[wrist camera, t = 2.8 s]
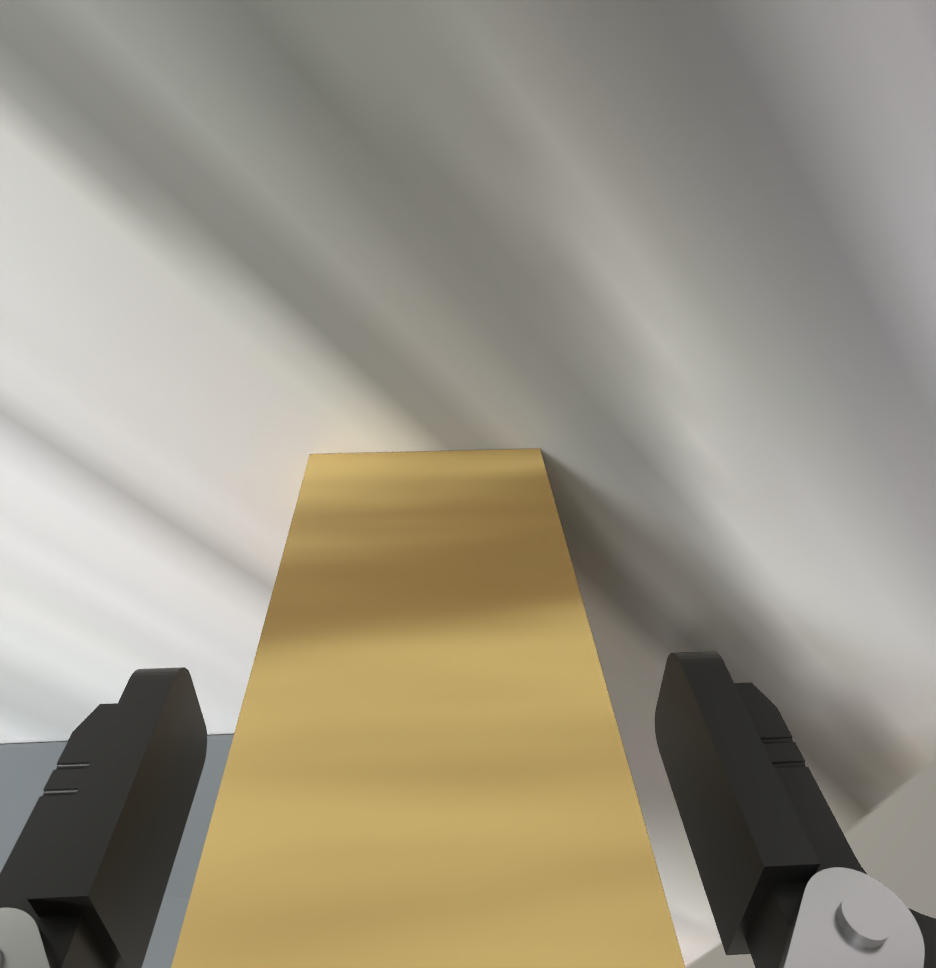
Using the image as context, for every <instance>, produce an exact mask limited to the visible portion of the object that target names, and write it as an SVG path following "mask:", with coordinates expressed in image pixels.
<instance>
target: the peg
mask: <svg viewBox="0 0 936 968" xmlns="http://www.w3.org/2000/svg"><path fill="white" fill-rule="evenodd" d="M171 968H685V965H684V961H683V958H682V954H681V951H680V947H679V944H678V940H677V936H676V933H675V929H674V926H673V922H672V919H671V915H670V911H669V908H668V904H667V901H666V897H665V894H664V890H663V886H662V883H661V879H660V876H659V872H658V869H657V865H656V861H655V858H654V854H653V851H652V847H651V844H650V840H649V836H648V833H647V829H646V826H645V822H644V819H643V815H642V811H641V808H640V804H639V801H638V797H637V794H636V790H635V786H634V783H633V779H632V776H631V772H630V769H629V765H628V761H627V758H626V754H625V751H624V747H623V744H622V740H621V736H620V733H619V729H618V726H617V722H616V719H615V715H614V711H613V708H612V704H611V701H610V697H609V694H608V690H607V686H606V683H605V679H604V676H603V672H602V669H601V665H600V661H599V658H598V654H597V651H596V647H595V644H594V640H593V636H592V633H591V629H590V626H589V622H588V619H587V615H586V611H585V608H584V604H583V601H582V597H581V594H580V590H579V586H578V583H577V579H576V576H575V572H574V569H573V565H572V561H571V558H570V554H569V551H568V547H567V544H566V540H565V536H564V533H563V529H562V526H561V522H560V519H559V515H558V511H557V508H556V504H555V501H554V497H553V494H552V490H551V486H550V483H549V479H548V476H547V472H546V469H545V465H544V461H543V458H542V454H541V451H540V449H500V450H459V451H418V452H378V453H337V454H310V456H309V459H308V463H307V467H306V470H305V474H304V478H303V481H302V485H301V489H300V493H299V496H298V500H297V504H296V507H295V511H294V515H293V518H292V522H291V526H290V530H289V533H288V537H287V541H286V544H285V548H284V552H283V555H282V559H281V563H280V567H279V570H278V574H277V578H276V581H275V585H274V589H273V592H272V596H271V600H270V604H269V607H268V611H267V615H266V618H265V622H264V626H263V629H262V633H261V637H260V641H259V644H258V648H257V652H256V655H255V659H254V663H253V666H252V670H251V674H250V677H249V681H248V685H247V689H246V692H245V696H244V700H243V703H242V707H241V711H240V714H239V718H238V722H237V726H236V729H235V733H234V737H233V740H232V744H231V748H230V751H229V755H228V759H227V763H226V766H225V770H224V774H223V777H222V781H221V785H220V788H219V792H218V796H217V800H216V803H215V807H214V811H213V814H212V818H211V822H210V825H209V829H208V833H207V837H206V840H205V844H204V848H203V851H202V855H201V859H200V862H199V866H198V870H197V873H196V877H195V881H194V885H193V888H192V892H191V896H190V899H189V903H188V907H187V910H186V914H185V918H184V922H183V925H182V929H181V933H180V936H179V940H178V944H177V947H176V951H175V955H174V959H173V962H172V966H171Z"/></svg>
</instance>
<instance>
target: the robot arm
mask: <svg viewBox="0 0 936 968" xmlns="http://www.w3.org/2000/svg"><path fill="white" fill-rule="evenodd" d="M655 732H656V739H657V744H658V748H659V752H660V755H661V758H662V761H663V764H664V767H665V770H666V773H667V776H668V779H669V782H670V785H671V788H672V791H673V794H674V797H675V800H676V803H677V806H678V810H679V813H680V816H681V819H682V822H683V825H684V828H685V831H686V834H687V837H688V840H689V843H690V846H691V849H692V852H693V855H694V858H695V861H696V864H697V867H698V871H699V874H700V877H701V880H702V883H703V886H704V889H705V892H706V895H707V898H708V901H709V904H710V907H711V910H712V913H713V916H714V919H715V922H716V925H717V928H718V932H719V935H720V938H721V941H722V944H723V946H724V950H725V953H726V955H738V954H751V956H752V959H753V961H754V965H755V967H756V968H936V919H934V918H931V917H928V916H925V915H923V914H920V913H918V912H916V911H914V910H911V909H909V908H907V906H906V905H905V904H904V903H903V902H902V900H901V899H900V898H899V897H898V896H897V895H896V894H895V893H894V892H893V891H891V890H890V889H889V888H888V887H886V886H885V885H884V884H882V883H881V882H880V881H878V880H876V879H874V878H873V877H871V876H869V875H867V873H866V872H865V871H864V870H863V868H862V867H861V865H860V864H859V862H858V860H857V859H856V857H855V855H854V853H853V852H852V850H851V848H850V846H849V844H848V842H847V840H846V838H845V836H844V834H843V832H842V830H841V829H840V827H839V825H838V823H837V821H836V819H835V817H834V815H833V813H832V811H831V810H830V808H829V806H828V804H827V802H826V800H825V798H824V796H823V794H822V792H821V791H820V789H819V787H818V785H817V783H816V781H815V779H814V777H813V775H812V773H811V772H810V770H809V768H808V767H806V766H805V760H804V758H803V756H802V754H801V752H800V751H799V749H798V747H797V745H796V743H795V742H793V741H792V735H791V733H790V732H789V730H788V728H787V726H786V724H785V722H784V720H783V718H782V716H781V714H780V713H779V711H778V709H777V707H776V706H775V705H774V704H773V703H772V702H771V701H770V700H769V699H768V698H767V697H766V696H765V695H764V694H762V693H761V692H760V691H759V690H758V689H757V688H756V687H755V686H754V685H753V684H752V683H734V682H733V680H732V678H731V676H730V674H729V672H728V670H727V668H726V666H725V664H724V661H723V660H722V658H721V656H720V655H719V654H718V653H717V652H714V651H712V652H682V653H671V654H670V655H669V656H668V659H667V662H666V667H665V671H664V676H663V680H662V684H661V689H660V693H659V698H658V702H657V706H656V711H655ZM206 751H207V730H206V725H205V722H204V719H203V715H202V712H201V709H200V705H199V702H198V699H197V695H196V692H195V689H194V685H193V682H192V679H191V676H190V673H189V671H188V670H187V669H186V668H157V669H138V670H136V671H135V672H134V673H133V674H132V675H131V677H130V679H129V681H128V683H127V685H126V687H125V689H124V692H123V694H122V696H121V698H120V700H119V702H118V704H100V705H99V706H98V707H97V708H96V709H95V710H94V711H93V712H92V713H91V714H90V715H89V716H88V717H87V718H86V719H85V720H84V721H83V722H82V723H81V724H80V725H79V726H78V727H77V728H76V729H75V730H74V731H73V732H72V734H71V736H70V738H69V740H68V742H67V744H66V746H65V748H64V750H63V752H62V754H61V756H60V758H59V760H58V762H57V768H56V770H53V771H52V773H51V775H50V777H49V779H48V781H47V783H46V785H45V787H44V789H43V791H44V792H43V795H42V796H40V797H39V799H38V801H37V803H36V805H35V807H34V808H33V810H32V812H31V814H30V816H29V818H28V820H27V822H26V824H25V826H24V828H23V830H22V832H21V834H20V836H19V838H18V840H17V842H16V844H15V845H14V847H13V849H12V851H11V853H10V855H9V857H8V859H7V861H6V863H5V865H4V867H3V869H2V871H1V873H0V968H142V965H143V962H144V959H145V955H146V952H147V949H148V946H149V942H150V939H151V936H152V933H153V929H154V926H155V923H156V920H157V916H158V913H159V910H160V907H161V903H162V900H163V897H164V894H165V890H166V887H167V884H168V881H169V877H170V874H171V871H172V868H173V864H174V861H175V858H176V855H177V851H178V848H179V845H180V842H181V838H182V835H183V832H184V829H185V825H186V822H187V819H188V816H189V812H190V809H191V806H192V803H193V800H194V796H195V793H196V790H197V787H198V783H199V780H200V777H201V774H202V770H203V767H204V763H205V758H206Z"/></svg>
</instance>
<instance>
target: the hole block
mask: <svg viewBox="0 0 936 968" xmlns="http://www.w3.org/2000/svg"><path fill="white" fill-rule="evenodd" d="M233 737H234V734H230V735H207V751H206V758H205V763H204V767H203V770H202V774H201V777H200V780H199V783H198V787H197V790H196V793H195V796H194V800H193V803H192V806H191V809H190V812H189V816H188V819H187V822H186V825H185V829H184V832H183V835H182V838H181V842H180V845H179V848H178V851H177V855H176V858H175V861H174V864H173V868H172V871H171V874H170V877H169V881H168V884H167V887H166V890H165V894H164V897H163V900H162V903H161V907H160V910H159V913H158V916H157V920H156V923H155V926H154V929H153V933H152V936H151V939H150V942H149V946H148V949H147V952H146V955H145V959H144V962H143V965H142V968H171V966H172V962H173V959H174V955H175V951H176V947H177V944H178V940H179V936H180V933H181V929H182V925H183V922H184V918H185V914H186V910H187V907H188V903H189V899H190V896H191V892H192V888H193V885H194V881H195V877H196V873H197V870H198V866H199V862H200V859H201V855H202V851H203V848H204V844H205V840H206V837H207V833H208V829H209V825H210V822H211V818H212V814H213V811H214V807H215V803H216V800H217V796H218V792H219V788H220V785H221V781H222V777H223V774H224V770H225V766H226V763H227V759H228V755H229V751H230V748H231V744H232V740H233ZM67 742H68V741H67ZM67 742H44V743H21V744H0V873H1V871H2V869H3V867H4V865H5V863H6V861H7V859H8V857H9V855H10V853H11V851H12V849H13V847H14V845H15V844H16V842H17V840H18V838H19V836H20V834H21V832H22V830H23V828H24V826H25V824H26V822H27V820H28V818H29V816H30V814H31V812H32V810H33V808H34V807H35V805H36V803H37V801H38V799H39V797H40V796H42V795H43V792H44V791H43V789H44V787H45V785H46V783H47V781H48V779H49V777H50V775H51V773H52V771H53V770H56V768H57V762H58V760H59V758H60V756H61V754H62V752H63V750H64V748H65V746H66V744H67Z"/></svg>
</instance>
